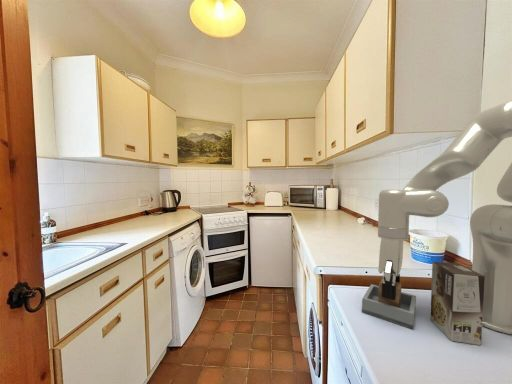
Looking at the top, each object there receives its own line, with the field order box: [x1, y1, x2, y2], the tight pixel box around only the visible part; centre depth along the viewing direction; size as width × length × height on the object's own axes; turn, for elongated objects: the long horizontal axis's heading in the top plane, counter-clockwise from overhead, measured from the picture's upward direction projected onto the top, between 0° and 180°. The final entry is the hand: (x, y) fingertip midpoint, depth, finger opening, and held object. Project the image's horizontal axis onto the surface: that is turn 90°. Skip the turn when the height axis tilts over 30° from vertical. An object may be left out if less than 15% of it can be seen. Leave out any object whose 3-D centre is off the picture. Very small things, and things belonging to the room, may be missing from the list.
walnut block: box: [378, 277, 403, 308], centre depth 65 cm, size 5×5×7 cm
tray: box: [361, 283, 417, 331], centre depth 65 cm, size 12×12×4 cm
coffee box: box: [429, 261, 485, 346], centre depth 56 cm, size 9×6×16 cm
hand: (391, 291), depth 65 cm, fingers open, 9 cm apart
